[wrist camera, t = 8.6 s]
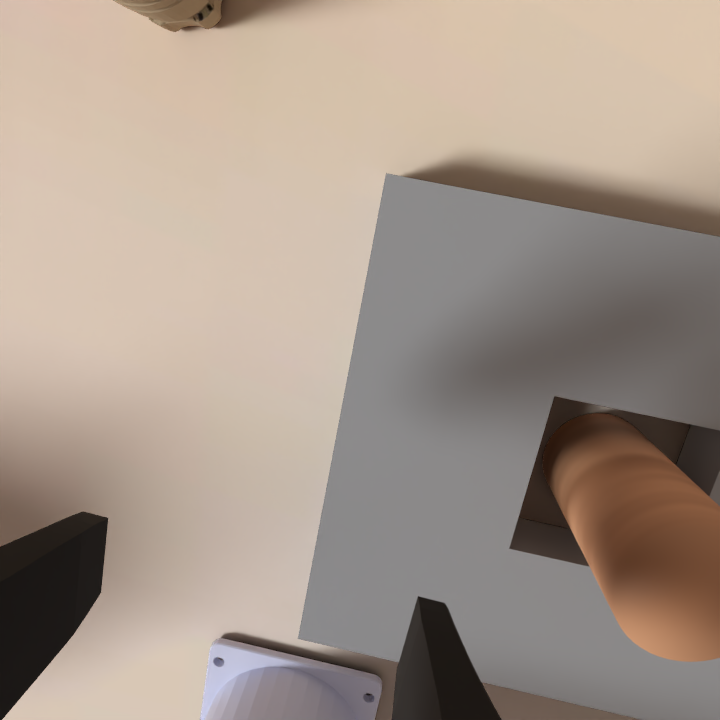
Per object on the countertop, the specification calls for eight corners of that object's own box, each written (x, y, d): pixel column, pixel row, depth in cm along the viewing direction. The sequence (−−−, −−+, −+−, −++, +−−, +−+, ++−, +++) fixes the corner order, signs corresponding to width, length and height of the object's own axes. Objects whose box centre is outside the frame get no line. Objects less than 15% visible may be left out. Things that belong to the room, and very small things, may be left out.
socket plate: (765, 703, 23) (806, 758, 21) (309, 597, 24) (298, 638, 22) (964, 288, 19) (1045, 298, 16) (389, 179, 20) (385, 173, 17)
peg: (630, 516, 22) (747, 676, 14) (531, 495, 22) (592, 642, 14) (662, 425, 21) (806, 543, 13) (557, 403, 21) (639, 508, 13)
